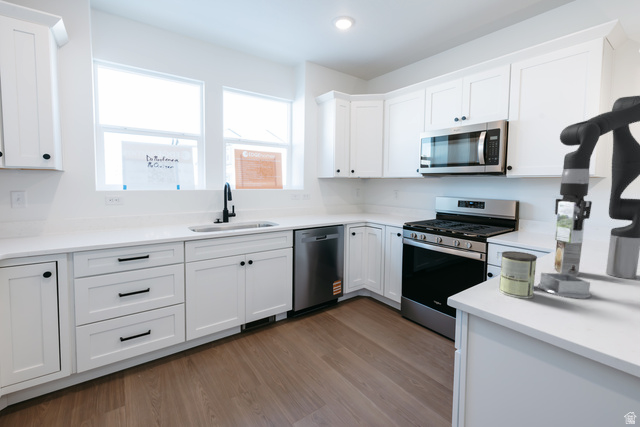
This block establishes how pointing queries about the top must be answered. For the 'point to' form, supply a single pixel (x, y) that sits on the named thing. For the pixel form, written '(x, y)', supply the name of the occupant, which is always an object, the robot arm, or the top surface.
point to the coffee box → (567, 258)
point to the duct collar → (564, 285)
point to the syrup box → (568, 223)
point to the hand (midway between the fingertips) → (569, 228)
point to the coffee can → (517, 274)
